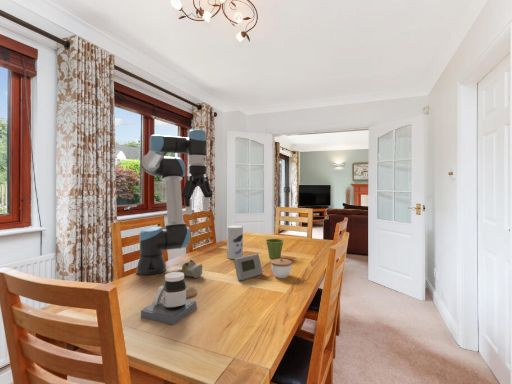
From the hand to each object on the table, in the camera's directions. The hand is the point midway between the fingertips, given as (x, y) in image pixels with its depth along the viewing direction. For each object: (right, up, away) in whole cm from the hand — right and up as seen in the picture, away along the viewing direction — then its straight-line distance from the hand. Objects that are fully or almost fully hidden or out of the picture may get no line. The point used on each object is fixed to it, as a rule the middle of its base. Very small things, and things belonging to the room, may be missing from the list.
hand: (197, 212), depth 123 cm
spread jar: (-6, -33, -22) cm, 40 cm away
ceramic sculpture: (-8, -34, +18) cm, 40 cm away
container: (+13, -33, +54) cm, 65 cm away
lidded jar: (+39, -35, +19) cm, 56 cm away
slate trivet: (-6, -35, -21) cm, 42 cm away
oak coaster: (-5, -35, -5) cm, 35 cm away
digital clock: (+22, -35, +18) cm, 45 cm away
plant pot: (+38, -33, +54) cm, 74 cm away
